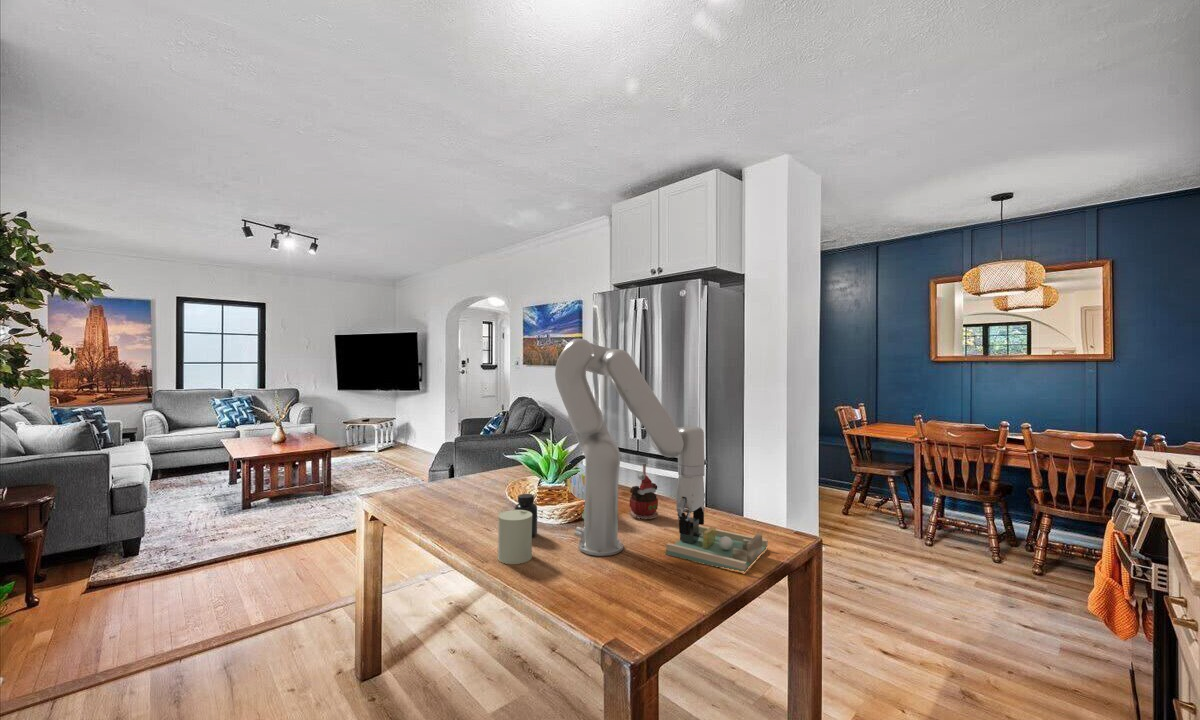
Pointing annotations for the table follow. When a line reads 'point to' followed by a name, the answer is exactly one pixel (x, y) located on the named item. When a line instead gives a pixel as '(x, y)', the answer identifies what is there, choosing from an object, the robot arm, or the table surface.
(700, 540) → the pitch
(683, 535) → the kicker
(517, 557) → the can
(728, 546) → the ball
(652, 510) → the santa hat candy apple
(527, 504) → the supplement bottle
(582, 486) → the snack box
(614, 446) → the robot arm
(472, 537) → the table surface
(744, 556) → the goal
